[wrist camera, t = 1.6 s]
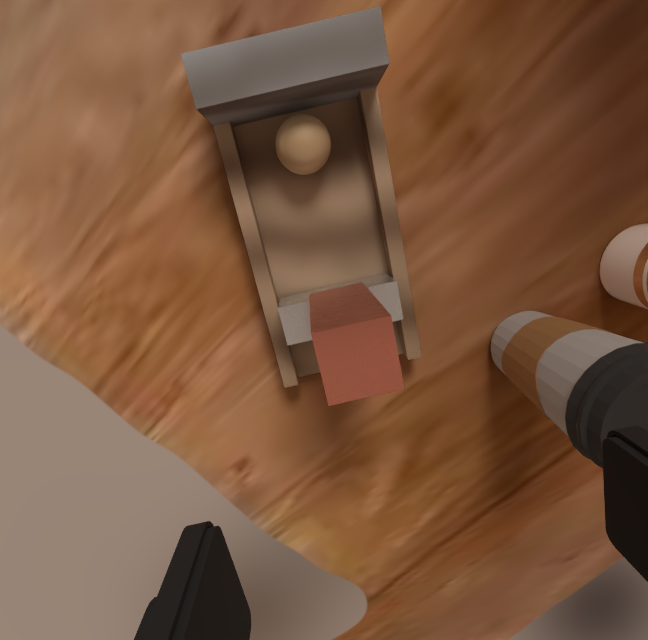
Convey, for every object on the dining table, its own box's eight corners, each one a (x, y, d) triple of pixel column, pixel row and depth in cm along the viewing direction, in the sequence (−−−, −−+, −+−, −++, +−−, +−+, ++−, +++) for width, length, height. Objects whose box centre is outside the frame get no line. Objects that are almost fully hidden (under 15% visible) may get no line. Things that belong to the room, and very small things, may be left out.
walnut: (271, 128, 30) (266, 114, 26) (323, 116, 30) (325, 100, 26) (284, 182, 31) (281, 177, 27) (334, 170, 31) (338, 164, 27)
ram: (279, 291, 33) (260, 345, 19) (384, 267, 32) (441, 303, 19) (291, 336, 34) (281, 416, 20) (393, 312, 33) (452, 378, 20)
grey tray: (209, 91, 30) (180, 53, 23) (362, 55, 30) (380, 6, 23) (286, 375, 36) (281, 412, 29) (412, 346, 36) (438, 377, 29)
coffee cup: (574, 363, 37) (746, 456, 23) (492, 396, 38) (608, 509, 23) (552, 283, 35) (726, 331, 21) (465, 320, 36) (575, 392, 21)
